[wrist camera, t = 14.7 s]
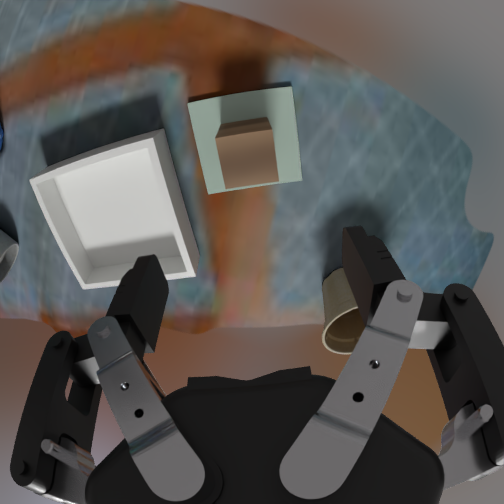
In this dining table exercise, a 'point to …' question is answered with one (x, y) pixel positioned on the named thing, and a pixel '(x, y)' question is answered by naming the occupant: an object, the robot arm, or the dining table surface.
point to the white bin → (118, 210)
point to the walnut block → (247, 153)
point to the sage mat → (244, 108)
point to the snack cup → (1, 136)
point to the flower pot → (340, 315)
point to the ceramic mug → (7, 254)
